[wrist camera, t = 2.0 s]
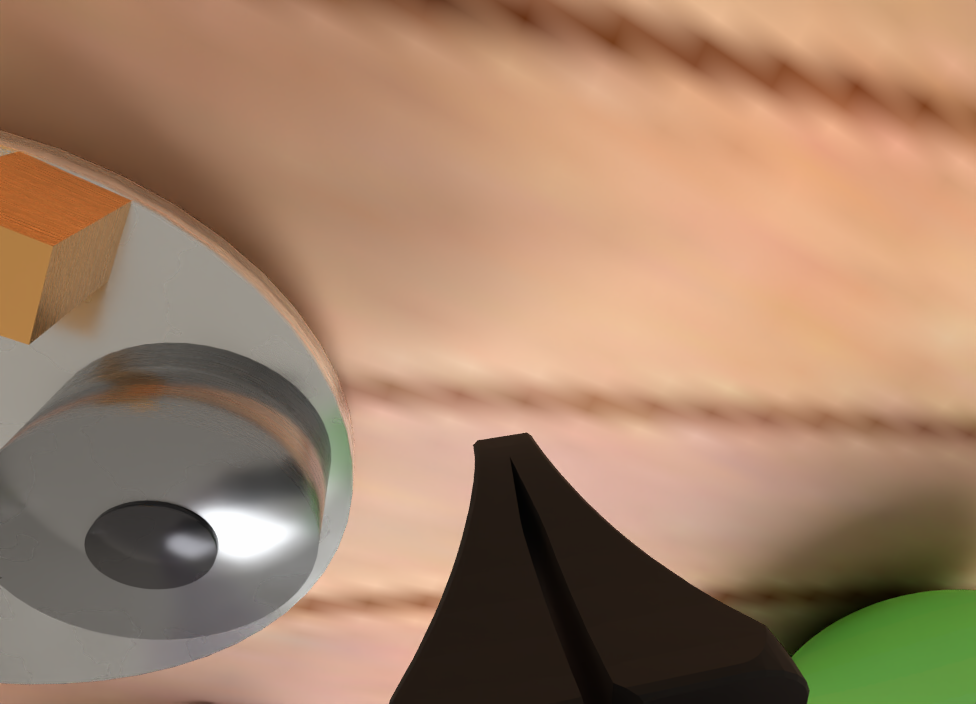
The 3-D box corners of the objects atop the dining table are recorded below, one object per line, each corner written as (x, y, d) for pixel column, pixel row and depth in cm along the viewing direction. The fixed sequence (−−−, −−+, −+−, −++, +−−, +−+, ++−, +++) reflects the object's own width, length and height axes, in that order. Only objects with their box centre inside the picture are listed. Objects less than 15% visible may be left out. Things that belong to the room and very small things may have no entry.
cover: (252, 572, 17) (225, 674, 14) (3, 485, 14) (-93, 592, 11) (380, 426, 15) (378, 512, 12) (120, 287, 12) (39, 358, 9)
